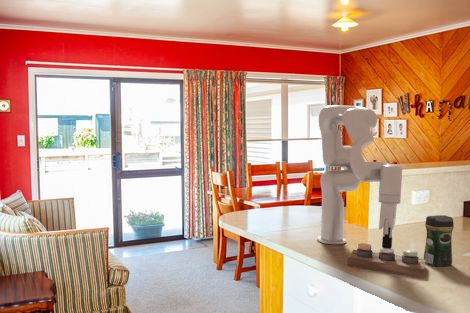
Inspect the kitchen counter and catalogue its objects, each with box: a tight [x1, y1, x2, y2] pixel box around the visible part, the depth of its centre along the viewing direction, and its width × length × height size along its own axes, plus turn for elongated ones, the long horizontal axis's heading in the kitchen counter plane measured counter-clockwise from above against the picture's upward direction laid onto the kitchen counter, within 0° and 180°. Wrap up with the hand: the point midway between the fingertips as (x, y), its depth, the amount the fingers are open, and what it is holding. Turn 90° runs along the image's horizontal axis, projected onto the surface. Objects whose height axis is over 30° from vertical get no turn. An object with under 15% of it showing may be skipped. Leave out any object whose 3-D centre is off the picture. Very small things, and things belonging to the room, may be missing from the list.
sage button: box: [402, 248, 419, 257], centre depth 160 cm, size 5×5×1 cm
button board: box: [347, 247, 426, 278], centre depth 163 cm, size 12×26×5 cm, turn 65°
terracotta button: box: [357, 243, 372, 250], centre depth 166 cm, size 5×5×1 cm
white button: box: [379, 246, 395, 254], centre depth 163 cm, size 5×5×1 cm
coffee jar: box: [423, 214, 455, 267], centre depth 167 cm, size 10×8×19 cm
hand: (386, 247), depth 163 cm, fingers closed
